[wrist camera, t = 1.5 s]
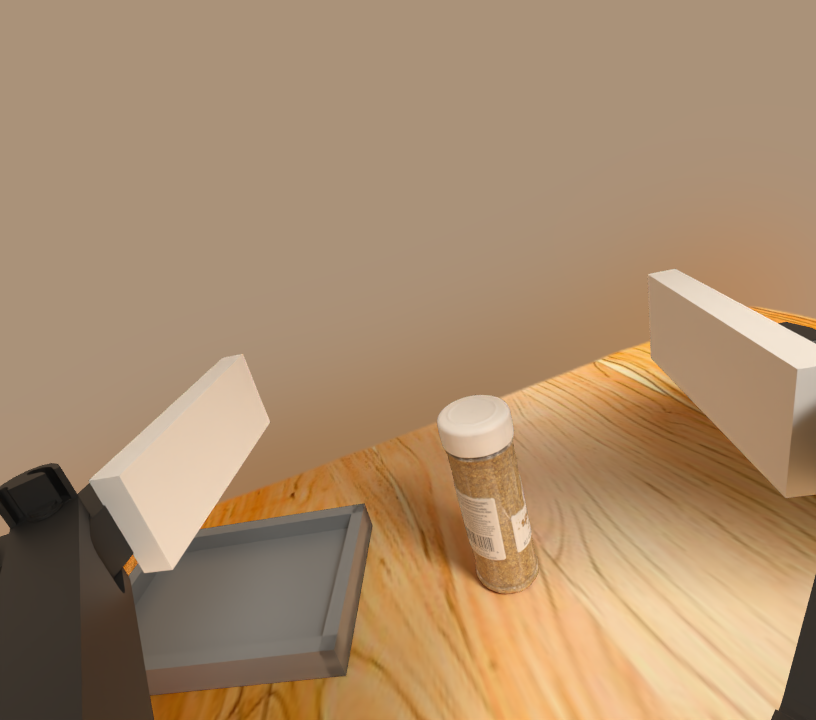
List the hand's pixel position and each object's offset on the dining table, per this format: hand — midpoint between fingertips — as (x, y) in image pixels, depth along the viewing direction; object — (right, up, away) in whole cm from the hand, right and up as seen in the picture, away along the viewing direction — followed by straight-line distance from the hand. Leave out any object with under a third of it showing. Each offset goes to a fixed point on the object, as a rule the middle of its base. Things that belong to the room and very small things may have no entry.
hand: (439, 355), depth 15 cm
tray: (-14, -19, +22) cm, 33 cm away
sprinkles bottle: (+6, -15, +19) cm, 25 cm away
